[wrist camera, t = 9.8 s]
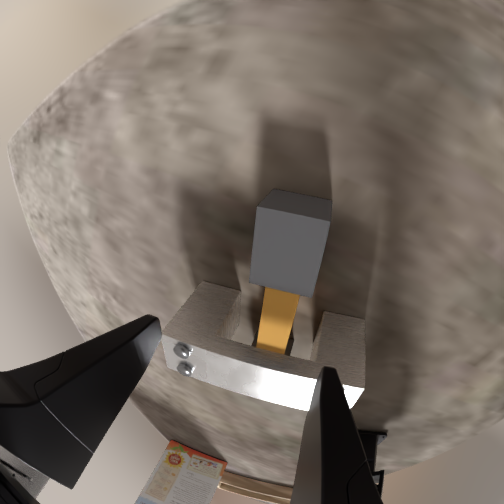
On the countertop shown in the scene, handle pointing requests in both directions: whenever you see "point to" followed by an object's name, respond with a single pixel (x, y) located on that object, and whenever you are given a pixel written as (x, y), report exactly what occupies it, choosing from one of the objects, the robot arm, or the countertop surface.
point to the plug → (286, 260)
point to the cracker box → (182, 477)
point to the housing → (259, 351)
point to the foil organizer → (255, 488)
